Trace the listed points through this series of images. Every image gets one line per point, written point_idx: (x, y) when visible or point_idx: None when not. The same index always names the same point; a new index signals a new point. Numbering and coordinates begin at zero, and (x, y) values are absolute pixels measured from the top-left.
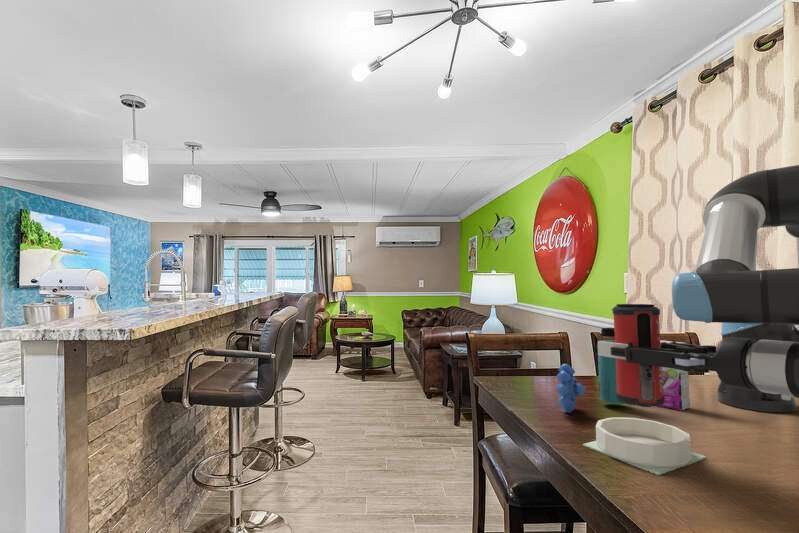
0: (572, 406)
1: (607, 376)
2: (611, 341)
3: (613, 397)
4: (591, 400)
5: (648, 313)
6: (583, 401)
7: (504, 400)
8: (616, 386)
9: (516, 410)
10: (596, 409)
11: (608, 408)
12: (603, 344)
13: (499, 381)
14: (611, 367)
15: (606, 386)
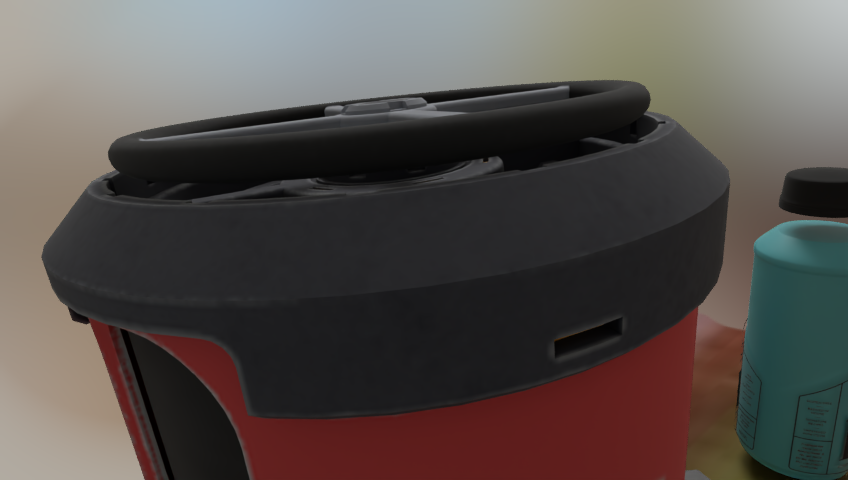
0: None
1: (762, 372)
2: (822, 233)
3: (771, 450)
4: (732, 404)
5: (182, 354)
6: (695, 404)
7: None
8: (792, 418)
9: None
10: (692, 467)
11: (750, 472)
12: None
13: None
14: (784, 345)
15: (753, 403)
